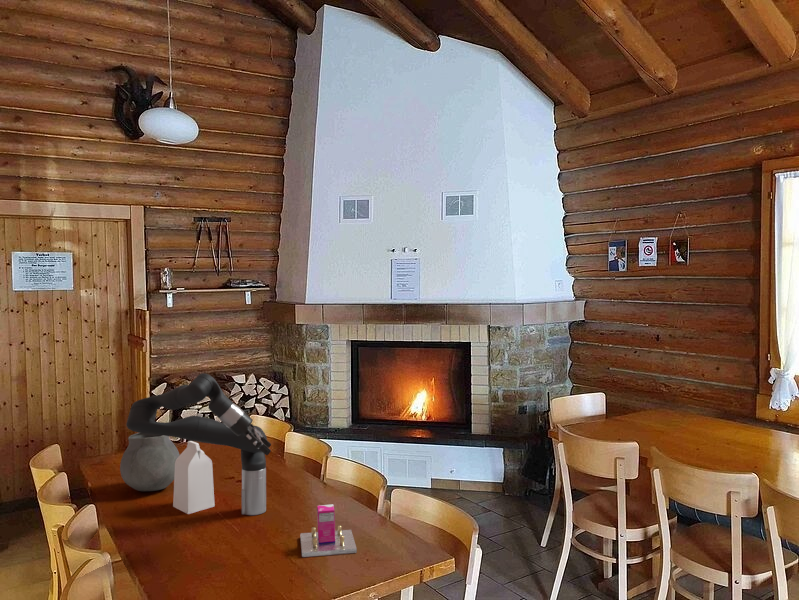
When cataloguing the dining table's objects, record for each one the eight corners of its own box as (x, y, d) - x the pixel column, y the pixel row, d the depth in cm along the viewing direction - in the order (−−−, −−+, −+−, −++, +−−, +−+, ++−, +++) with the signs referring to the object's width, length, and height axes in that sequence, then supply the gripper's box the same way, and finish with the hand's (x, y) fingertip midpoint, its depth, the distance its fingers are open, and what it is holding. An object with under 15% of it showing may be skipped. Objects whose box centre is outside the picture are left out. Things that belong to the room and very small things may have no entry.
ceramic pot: (136, 480, 283) (135, 425, 283) (189, 480, 283) (188, 426, 282) (109, 498, 259) (108, 439, 258) (167, 499, 258) (166, 439, 257)
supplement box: (317, 537, 216) (317, 504, 216) (334, 536, 217) (334, 503, 217) (318, 544, 210) (317, 510, 210) (335, 543, 211) (335, 509, 211)
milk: (173, 506, 250) (172, 442, 249) (199, 499, 258) (198, 437, 258) (188, 514, 242) (187, 447, 241) (214, 506, 250) (214, 442, 250)
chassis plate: (302, 557, 204) (301, 543, 204) (300, 537, 220) (300, 525, 220) (356, 552, 207) (356, 539, 207) (351, 533, 223) (351, 521, 223)
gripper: (229, 422, 225) (262, 452, 227) (226, 431, 211) (261, 463, 213) (244, 407, 226) (276, 437, 228) (242, 415, 212) (276, 447, 214)
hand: (269, 450), depth 221 cm, fingers open, 8 cm apart
